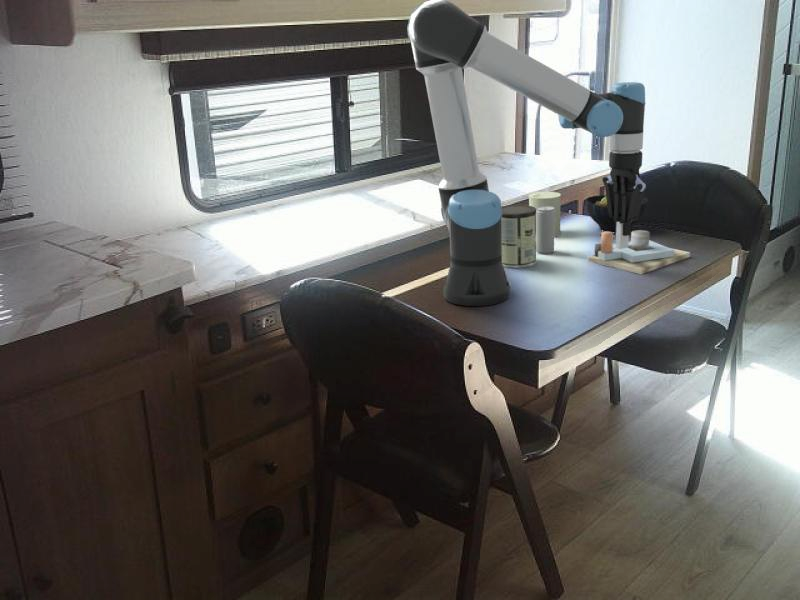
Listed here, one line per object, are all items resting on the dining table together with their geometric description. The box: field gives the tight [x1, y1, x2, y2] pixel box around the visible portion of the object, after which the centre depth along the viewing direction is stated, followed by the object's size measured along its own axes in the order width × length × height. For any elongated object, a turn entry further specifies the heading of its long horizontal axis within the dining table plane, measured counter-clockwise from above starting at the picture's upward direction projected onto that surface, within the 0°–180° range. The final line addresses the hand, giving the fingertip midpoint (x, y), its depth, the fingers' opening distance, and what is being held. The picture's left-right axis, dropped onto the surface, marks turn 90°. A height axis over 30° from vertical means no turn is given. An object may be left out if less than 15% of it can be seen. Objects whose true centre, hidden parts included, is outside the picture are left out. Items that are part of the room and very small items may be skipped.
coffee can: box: [501, 204, 537, 269], centre depth 204 cm, size 10×10×14 cm
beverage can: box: [536, 206, 555, 255], centre depth 211 cm, size 5×5×12 cm
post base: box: [588, 229, 691, 275], centre depth 202 cm, size 20×16×7 cm
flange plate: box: [598, 231, 674, 263], centre depth 201 cm, size 17×12×7 cm
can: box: [528, 191, 562, 238], centre depth 229 cm, size 9×9×12 cm
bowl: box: [585, 194, 649, 234], centre depth 230 cm, size 17×17×10 cm
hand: (621, 247), depth 194 cm, fingers closed
